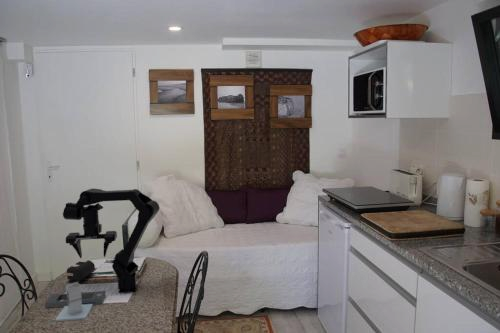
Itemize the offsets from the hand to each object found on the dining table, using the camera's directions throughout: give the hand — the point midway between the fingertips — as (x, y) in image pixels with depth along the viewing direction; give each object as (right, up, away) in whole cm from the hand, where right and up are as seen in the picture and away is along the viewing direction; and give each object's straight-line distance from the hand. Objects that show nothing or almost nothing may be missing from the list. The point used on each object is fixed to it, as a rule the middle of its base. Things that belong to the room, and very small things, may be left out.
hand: (92, 257), depth 158 cm
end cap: (-9, -12, +11) cm, 19 cm away
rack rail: (-2, -15, -10) cm, 18 cm away
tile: (+1, -16, -19) cm, 25 cm away
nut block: (+1, -15, -19) cm, 24 cm away
